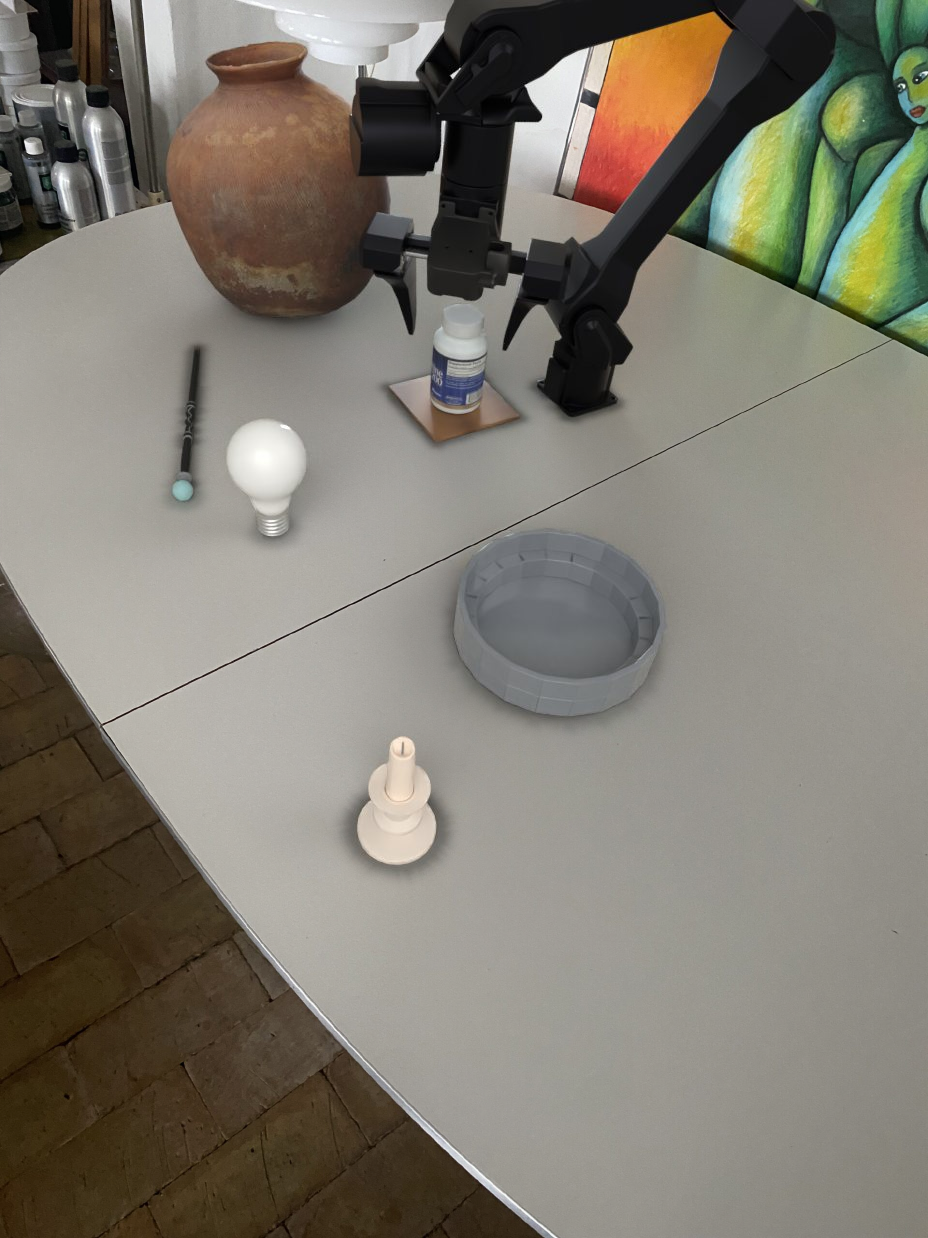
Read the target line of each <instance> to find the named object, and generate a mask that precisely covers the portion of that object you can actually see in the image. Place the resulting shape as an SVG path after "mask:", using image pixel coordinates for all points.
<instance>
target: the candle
mask: <svg viewBox="0 0 928 1238" xmlns="http://www.w3.org/2000/svg"><path fill="white" fill-rule="evenodd" d="M367 789H368V790H367V791H368V797H369V800H368V801H367V802H366V803H365V805H364V806H363V807H362V809H361V811H360V813H359V815H358V818H357V825H356V830H357V838H358V841H359V843H360V845H361V848H362V849H363V850H364V852H366V853H367V855H369V856H370V857H371V858H373V859H374V860H375V861H377V862H380V863H383V864H386V865H393V866H400V865H406V864H407V865H408V864H411V863H413V862H415V861H418V860H419V859H421V858H422V857H423V856H424V855H425V854H427V852H428V851H429V850H430V849H431V847H433V844H434V841H435V838H436V833H437V820H436V817H435V816H436V815H435V814H434V811H433V810H432V807H431V806H430V805H429V804H428V802H429V798H430V796H431V791H432V785H431V780H430V778H429V776H428V774H427V772H426V771H425V769H423V768H422V767H421V766H419V765H418V764H416V745H415V743H414V741H413V740H412V739H411V738H409V737H408V736H397V737H395V738H394V739H393V740H392V741H391V742H390V744H389V752H388V760H387V762H385V763H383V764H381V765H379V766H378V767H377V768H376V769H375V770H374V771H373V772H372V773H371V775H370V778H369V780H368V785H367Z"/></svg>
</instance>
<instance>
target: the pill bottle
mask: <svg viewBox="0 0 928 1238" xmlns="http://www.w3.org/2000/svg"><path fill="white" fill-rule="evenodd" d="M441 318H442V319H441V327H439V328H438V329H437V330H436V331H435V332H434V336H433V342H432V355H431V371H430V375H431V383H430V399H431V401H432V403H433V405H434V406H436V407H437V408H438V409H440V410H442V411H444V412H447V413H452V414H464V413H469V412H472V411H474V410H475V409H476V408H477V407H478V406H479V405H480V403H481V399H482V391H483V383H484V380H485V373H486V366H487V359H488V349H489V339H488V337H487V334H486V333H485V332H484V328H485V314H484V312H483V311H482V310H481V309H480V308H479V307H477V306H475V305H473V304H468V303H453V304H450V305H448V306H446V307H445V308H443V311H442V316H441Z"/></svg>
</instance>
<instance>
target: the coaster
mask: <svg viewBox="0 0 928 1238" xmlns="http://www.w3.org/2000/svg"><path fill="white" fill-rule="evenodd" d="M430 383H431V374H430V375H426V376H421V377H418V378H413V379H410V380H406V381H401V382H398V383H395V384H391V385H388V390H389V391H390V393H391V394H392V395H393V396H394V398H396V399H397V401H398V402H399V403H400V404H401V405H402V407H404V409H405V410H406V411H407V412H408V413H409V415H411V417H412V418H413V419H414V420H415V421H416V422H417V423H418V424H419V426H420V427H421V428H422V429H423V430H424V432H425V433H426V434H427V435H428V436H429V437H430V438H431V439H432V440H433V442H434V443H436V444H437V443H440V442H443V441H447V440H450V439H454V438H457V437H460V436H465V435H467V434H470V433H475V432H478V431H481V430H485V429H487V428H491V427H494V426H498V425H501V424H506V423H509V422H512V421H515V420H519V419H520V418H521V415H520V413H519V412H518V411H516V409H514V407H513V406H512V405H511V404H510V403H508V402H507V401H506V400H505V399H504V397H502V395H501V394H499V392H498V391H496V389H495V388H493V386H492V385H490V383H489V382H488V381H487V380H486V379H484V383H483V391H482V399H481V403H480V405H479V406H478V407H477V408H476V409H475V410H474V411H472V412H469V413H464V414H452V413H447V412H444V411H442V410H440V409H438V408H437V407H436V406H434V405H433V403H432V401H431V399H430Z"/></svg>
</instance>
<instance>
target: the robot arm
mask: <svg viewBox="0 0 928 1238" xmlns="http://www.w3.org/2000/svg"><path fill="white" fill-rule="evenodd" d="M710 13H714V14H715V16H716V17H717V18H718V19H719V20H720V21H721V22H722V23H723V24H724V25H726V27H728V28H729V29H730V30H731V32H730V34H729V35H728V37H727V38H726V40H725V43H724V44H723V46H722V47H721V49H720V53H719V56H718V60H717V63H716V66H715V70H714V73H713V77H712V80H711V82H710V85H709V89H708V90H707V91H706V94H705V96H704V97H702V99H701V100H700V102H699V103H698V104H697V106H696V107H695V109H694V110H692V112H691V114H690V115H689V117H688V118H687V119H686V120H685V122H684V123H683V124H682V125H681V127H680V128H679V129H678V131H677V133H676V134H675V135H674V136H673V138H672V139H671V140H670V142H668V144H667V145H666V147H665V148H664V149H663V150H662V152H660V154H659V156H658V157H657V158H656V160H655V161H654V162H653V164H652V165H651V166H650V168H649V169H648V170H647V171H646V173H645V174H644V175H643V177H642V178H641V179H640V181H638V183H637V185H636V186H635V187H634V188H633V189H632V191H631V193H630V194H629V195H628V196H627V198H626V199H625V200H624V202H623V203H622V204H621V206H620V207H619V208H618V210H617V211H616V212H615V214H613V216H612V217H611V219H610V220H609V221H608V223H606V225H605V226H604V228H603V229H602V230H601V231H600V232H599V233H598V234H597V235H596V236H594V237H591V238H590V239H588V240H585V241H584V242H582V243H579V242H578V241H577V240H576V238H575V237H574V236H570V237H568V238H567V240H566V241H564V243H563V242H556V241H550V240H545V239H539V238H533V237H532V238H530V242H529V246H528V250H527V251H521V250H514V249H513V242H512V241H511V242H510V241H506V240H502V239H501V238H502V232H503V224H504V223H503V222H504V215H505V209H506V199H507V193H508V185H509V176H510V169H511V160H512V153H513V146H514V145H513V144H514V137H515V136H514V135H515V129H516V123H540V122H541V121H542V120H543V113H542V112H541V110H540V109H539V108H538V106H537V105H536V104H535V103H534V102H533V100H532V98H531V96H530V93H529V90H528V88H527V87H526V85H528V84H530V83H532V82H534V81H536V80H538V79H540V78H542V77H544V76H545V75H547V73H549V72H550V71H551V70H552V69H554V67H555V66H557V64H559V63H560V62H561V61H562V60H563V59H565V58H567V57H569V56H571V55H573V54H575V53H577V52H580V51H583V50H587V49H590V48H594V47H597V46H600V45H604V44H608V43H610V42H614V41H617V40H621V39H624V38H628V37H631V36H634V35H638V34H641V33H644V32H648V31H652V30H655V29H658V28H662V27H666V26H669V25H672V24H675V23H676V24H677V23H679V22H682V21H686V20H689V19H693V18H696V17H700V16H703V15H707V14H710ZM837 36H838V35H837V29H836V25H835V23H834V21H833V19H832V17H831V16H830V15H829V14H827V13H826V12H824V11H823V10H821V9H820V8H818V7H816V6H815V5H813V4H811V3H810V2H808V1H806V0H453V2H452V4H451V6H450V8H449V10H448V11H447V14H446V17H445V21H444V25H443V31H442V33H441V34H440V36H439V37H438V38H437V40H436V41H435V43H434V44H433V46H432V47H431V49H430V50H429V51H428V53H427V54H426V55H425V57H424V58H423V60H422V61H421V62H420V64H419V66H418V67H417V68H416V70H415V72H414V73H415V77H416V79H417V80H385V79H380V78H376V77H371V76H358V77H356V78H355V85H354V87H355V90H354V91H355V92H354V95H353V97H352V103H351V105H352V114H349V137H350V151H351V159H352V165H353V170H354V173H355V175H356V177H394V178H395V177H399V178H400V177H404V178H405V177H407V178H408V177H410V178H411V177H425V176H426V175H427V173H428V172H430V173H431V172H434V171H435V166H436V163H438V162H439V160H440V158H441V163H440V165H441V166H440V168H441V169H440V177H439V178H440V179H439V194H438V206H437V208H438V209H437V214H436V217H435V219H434V221H433V224H432V226H431V229H430V235H424V234H419V233H415V221H414V218H413V217H406V216H401V215H394V214H390V215H389V214H383V213H376V214H375V215H374V216H373V217H372V218H371V219H370V220H369V222H368V224H367V226H366V228H365V230H364V231H363V233H362V235H361V237H360V242H359V265H360V266H361V267H363V268H366V269H372V270H373V273H374V274H373V276H374V277H376V278H377V279H382V280H384V281H385V282H386V283H387V284H389V285H390V287H391V289H392V291H393V293H394V295H395V298H396V300H397V303H398V305H399V308H400V312H401V314H402V317H403V321H404V324H405V327H406V330H407V334H408V335H410V336H413V335H414V333H415V330H416V323H417V311H418V310H417V305H418V304H417V259H420V260H421V259H422V260H426V288H427V291H428V292H429V293H430V294H431V295H433V296H437V297H442V296H449V297H454V298H460V299H463V300H464V301H468V302H475V301H478V300H480V299H481V298H482V297H483V295H484V290H485V289H490V290H494V289H495V287H496V286H499V287H505V286H506V285H507V282H508V277H509V274H512V275H517V276H520V280H519V282H518V286H517V289H516V293H515V296H514V300H513V304H512V307H511V310H510V314H509V318H508V320H507V324H506V328H505V331H504V336H503V341H502V348H501V349H502V350H501V351H503V352H507V351H508V349H509V347H510V346H511V343H512V341H513V339H514V337H515V336H516V333H517V332H518V330H519V328H520V326H521V325H522V323H523V321H524V319H525V318H526V317H527V315H528V314H529V313H530V312H531V310H532V309H533V308H535V307H536V306H543V307H544V310H545V311H546V313H547V314H548V316H549V318H550V320H551V321H552V324H553V325H554V327H555V328H556V331H557V332H558V334H559V336H560V338H559V339H556V340H554V344H553V349H552V355H551V356H550V357H549V358H548V361H547V367H546V373H545V378H541V379H539V380H537V382H536V387H537V388H538V389H539V391H541V392H542V393H543V394H544V395H545V396H546V397H547V398H548V399H549V400H551V401H552V403H554V404H555V405H556V406H557V407H558V408H559V409H560V410H561V411H562V412H563V413H564V414H565V415H566V416H568V417H572V418H573V417H577V416H580V415H584V414H587V413H591V412H594V411H597V410H601V409H603V408H604V409H605V408H607V407H611V406H614V405H616V404H618V401H619V398H618V397H617V396H616V394H614V393H613V392H612V391H611V390H610V389H611V385H612V381H613V377H614V373H615V370H616V366H622V365H624V363H625V362H626V361H627V359H628V358H629V356H630V354H631V353H632V351H633V349H634V345H633V344H632V343H631V341H630V339H629V338H628V336H627V334H626V333H625V332H624V330H623V329H622V327H621V326H620V324H619V320H620V318H621V316H622V315H623V314H624V312H625V310H626V309H627V307H628V305H629V303H630V299H631V295H632V293H633V290H634V289H633V288H634V286H635V282H636V279H637V275H638V272H639V270H640V268H641V267H642V265H643V264H644V263H645V262H646V260H647V259H648V258H649V257H650V255H651V254H652V253H653V252H654V250H655V249H656V248H657V247H658V246H659V245H660V243H661V242H662V241H663V239H665V237H666V236H667V235H668V234H669V232H670V231H671V230H672V228H673V227H674V226H675V225H676V223H677V222H678V221H679V219H680V218H681V217H682V216H683V215H684V214H685V212H686V211H687V210H688V209H689V207H690V206H691V204H693V203H694V201H695V200H697V198H698V196H700V194H701V192H702V191H703V190H704V189H705V188H706V187H707V185H708V184H709V182H711V180H712V179H713V178H714V177H715V176H716V174H717V173H718V172H719V170H720V169H721V168H722V167H723V165H724V164H725V163H726V162H727V161H728V159H729V158H730V157H731V156H732V154H733V153H734V152H735V150H736V149H737V148H738V147H739V146H740V144H741V143H742V142H743V141H744V140H745V138H746V137H747V136H748V135H749V133H751V132H752V130H753V129H755V128H757V127H758V126H761V125H762V124H764V123H766V122H768V121H769V120H772V119H773V118H775V117H777V116H779V115H780V114H783V113H784V112H787V111H788V110H790V109H791V108H792V107H793V106H794V105H795V104H796V103H797V102H798V101H799V100H800V99H801V98H802V97H803V96H805V94H806V93H807V92H808V91H810V89H811V88H812V87H813V86H815V85H816V84H817V83H818V82H819V81H820V80H821V79H822V78H823V77H824V75H825V74H826V73H827V71H828V69H829V68H830V66H831V65H832V63H833V61H834V58H835V57H836V44H837V39H838V38H837ZM456 72H457V73H456ZM455 73H456V74H455ZM454 74H455V76H453V77H452V75H454ZM442 123H443V124H442ZM442 125H443V135H442ZM442 136H443V138H442Z"/></svg>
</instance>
